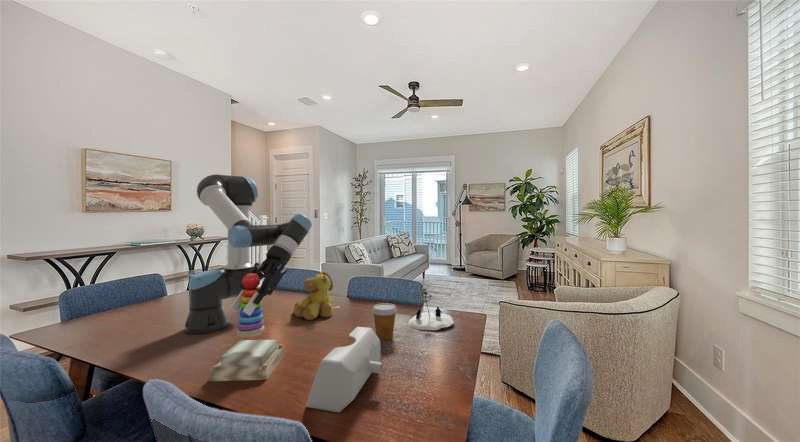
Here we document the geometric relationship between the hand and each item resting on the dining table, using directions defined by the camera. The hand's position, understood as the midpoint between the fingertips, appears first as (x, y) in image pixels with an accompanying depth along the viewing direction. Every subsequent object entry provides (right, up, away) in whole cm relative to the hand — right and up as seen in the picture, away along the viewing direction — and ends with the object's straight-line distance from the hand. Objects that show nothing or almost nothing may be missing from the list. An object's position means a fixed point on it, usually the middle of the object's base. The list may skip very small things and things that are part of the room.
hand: (239, 311), depth 94 cm
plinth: (+1, -18, +4) cm, 19 cm away
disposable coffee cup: (+42, -18, +27) cm, 53 cm away
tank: (+36, -19, -7) cm, 41 cm away
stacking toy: (+2, -8, +3) cm, 9 cm away
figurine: (+62, -18, +42) cm, 77 cm away
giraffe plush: (+8, -17, +57) cm, 60 cm away
